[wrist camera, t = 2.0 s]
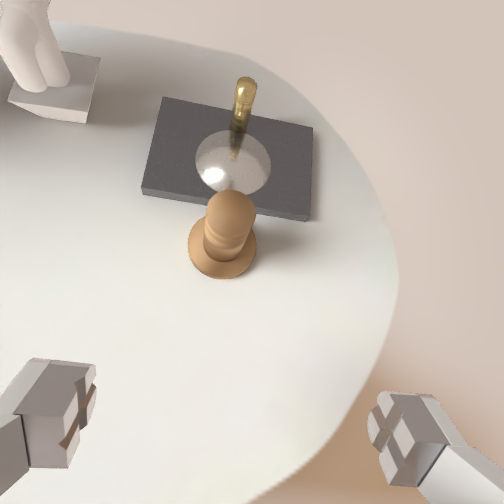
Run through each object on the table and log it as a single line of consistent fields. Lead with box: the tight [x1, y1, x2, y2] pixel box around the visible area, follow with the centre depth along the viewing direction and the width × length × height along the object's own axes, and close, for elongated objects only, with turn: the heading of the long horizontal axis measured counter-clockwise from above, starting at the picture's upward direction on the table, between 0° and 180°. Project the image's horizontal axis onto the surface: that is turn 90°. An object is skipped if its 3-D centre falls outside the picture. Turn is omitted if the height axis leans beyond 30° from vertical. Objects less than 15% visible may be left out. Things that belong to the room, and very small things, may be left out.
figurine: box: [0, 0, 100, 124], centre depth 29 cm, size 7×9×15 cm
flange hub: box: [188, 190, 256, 279], centre depth 30 cm, size 7×7×8 cm
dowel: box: [230, 77, 257, 133], centre depth 35 cm, size 2×2×6 cm
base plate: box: [141, 97, 313, 222], centre depth 37 cm, size 18×12×2 cm, turn 85°
